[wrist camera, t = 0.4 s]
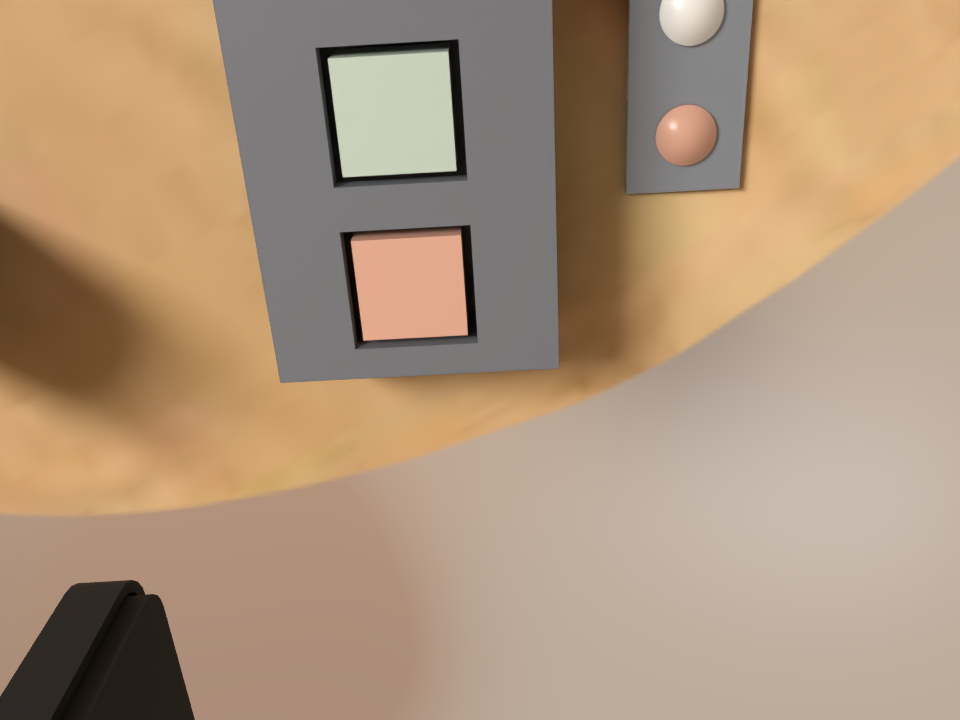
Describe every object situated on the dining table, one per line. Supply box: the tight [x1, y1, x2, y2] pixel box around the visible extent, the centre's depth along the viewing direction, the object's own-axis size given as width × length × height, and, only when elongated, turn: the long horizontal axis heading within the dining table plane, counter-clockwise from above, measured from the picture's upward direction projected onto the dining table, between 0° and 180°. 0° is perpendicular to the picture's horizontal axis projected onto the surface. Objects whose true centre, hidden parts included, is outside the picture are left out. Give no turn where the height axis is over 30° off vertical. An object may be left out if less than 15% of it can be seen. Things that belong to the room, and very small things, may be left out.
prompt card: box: [625, 0, 753, 194], centre depth 38 cm, size 10×5×1 cm, turn 3°
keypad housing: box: [213, 0, 559, 383], centre depth 36 cm, size 22×12×5 cm, turn 3°
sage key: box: [328, 42, 458, 177], centre depth 35 cm, size 4×4×2 cm
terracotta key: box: [351, 226, 468, 341], centre depth 38 cm, size 4×4×2 cm
